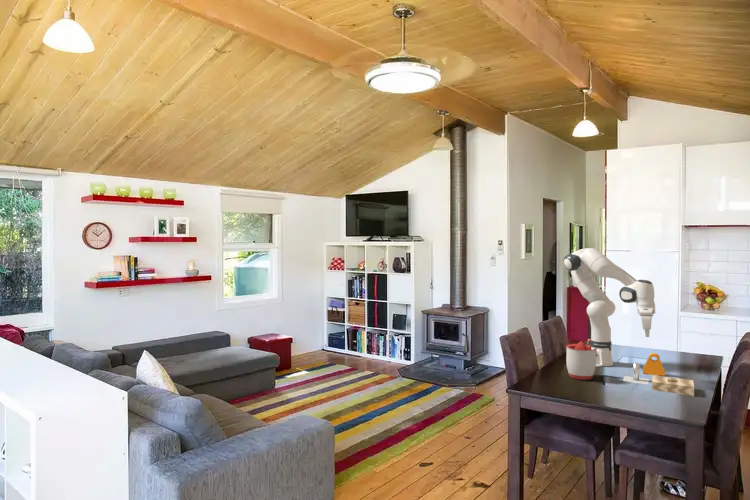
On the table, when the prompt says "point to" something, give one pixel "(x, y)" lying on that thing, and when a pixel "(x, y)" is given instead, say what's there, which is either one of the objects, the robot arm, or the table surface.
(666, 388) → the oak hole block
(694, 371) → the table surface
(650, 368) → the bracket
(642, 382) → the rubber mat
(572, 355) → the citrus juicer
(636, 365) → the steel pin
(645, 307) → the robot arm
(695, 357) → the table surface
